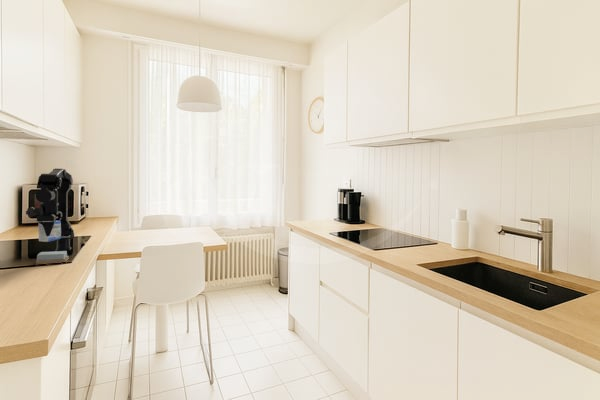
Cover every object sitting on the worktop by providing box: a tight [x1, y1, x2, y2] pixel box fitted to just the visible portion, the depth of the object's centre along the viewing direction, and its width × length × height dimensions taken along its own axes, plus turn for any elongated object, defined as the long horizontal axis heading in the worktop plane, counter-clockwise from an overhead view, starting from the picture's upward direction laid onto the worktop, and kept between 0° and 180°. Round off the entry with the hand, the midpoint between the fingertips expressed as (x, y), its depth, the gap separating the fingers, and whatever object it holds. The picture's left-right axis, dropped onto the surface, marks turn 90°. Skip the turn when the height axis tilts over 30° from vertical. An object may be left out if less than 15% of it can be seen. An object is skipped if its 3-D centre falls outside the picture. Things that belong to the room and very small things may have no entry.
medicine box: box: [37, 221, 61, 243], centre depth 151 cm, size 8×4×9 cm, turn 178°
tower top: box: [36, 250, 68, 261], centre depth 151 cm, size 6×10×2 cm, turn 115°
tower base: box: [35, 255, 70, 265], centre depth 151 cm, size 7×11×2 cm, turn 117°
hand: (50, 234), depth 151 cm, fingers closed on medicine box, 9 cm apart
